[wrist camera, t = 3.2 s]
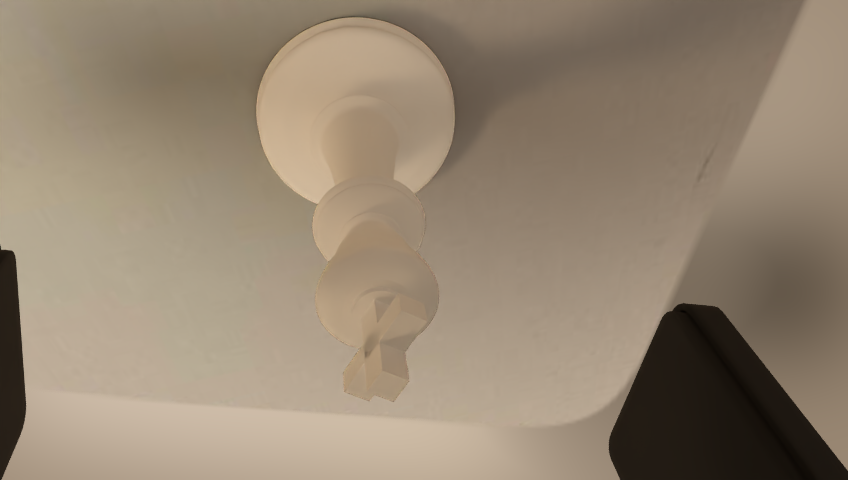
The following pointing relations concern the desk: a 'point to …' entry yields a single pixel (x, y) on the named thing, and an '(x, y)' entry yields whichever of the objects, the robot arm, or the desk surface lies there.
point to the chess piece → (363, 179)
